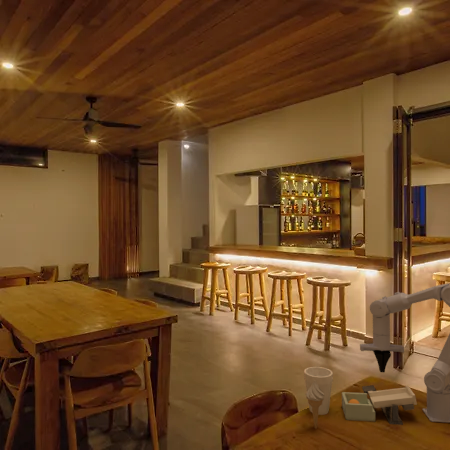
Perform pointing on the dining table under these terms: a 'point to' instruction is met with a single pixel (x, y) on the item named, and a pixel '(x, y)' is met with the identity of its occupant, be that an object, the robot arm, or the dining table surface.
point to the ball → (353, 401)
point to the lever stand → (392, 414)
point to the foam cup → (320, 385)
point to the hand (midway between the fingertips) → (381, 371)
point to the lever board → (391, 397)
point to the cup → (357, 407)
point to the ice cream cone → (315, 400)
